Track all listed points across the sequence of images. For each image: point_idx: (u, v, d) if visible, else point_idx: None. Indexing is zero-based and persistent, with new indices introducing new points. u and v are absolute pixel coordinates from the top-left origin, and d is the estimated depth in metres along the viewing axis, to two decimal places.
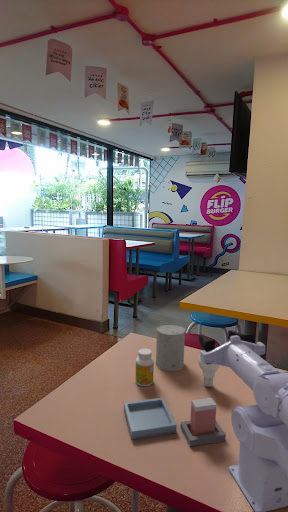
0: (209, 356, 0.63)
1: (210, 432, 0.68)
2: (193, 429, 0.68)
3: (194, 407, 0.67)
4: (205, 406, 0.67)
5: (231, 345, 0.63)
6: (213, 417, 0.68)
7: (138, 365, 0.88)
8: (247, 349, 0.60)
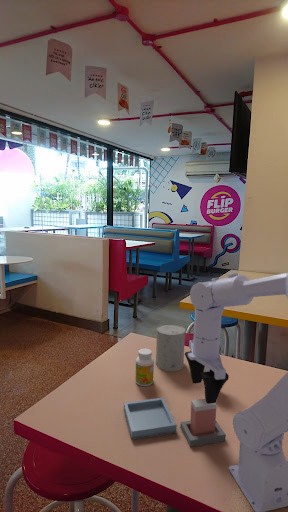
0: (216, 368, 0.61)
1: (210, 432, 0.68)
2: (193, 429, 0.68)
3: (194, 407, 0.67)
4: (204, 406, 0.67)
5: (197, 355, 0.65)
6: (213, 417, 0.68)
7: (138, 365, 0.88)
8: (194, 338, 0.66)
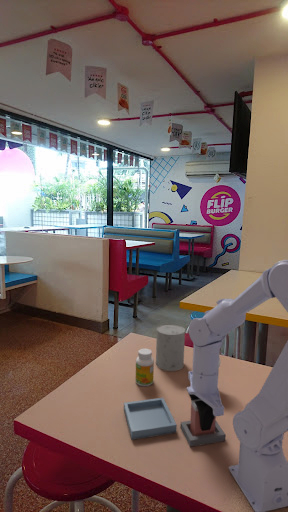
0: (215, 404, 0.62)
1: (210, 432, 0.68)
2: (193, 429, 0.68)
3: (194, 407, 0.67)
4: None
5: (196, 389, 0.66)
6: None
7: (138, 365, 0.88)
8: (192, 373, 0.67)
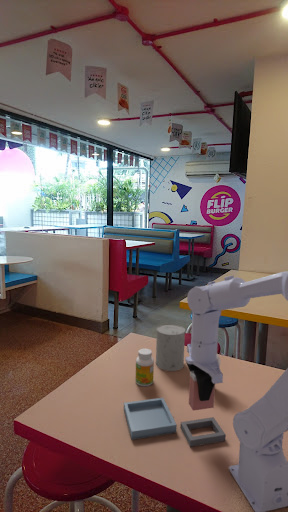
0: (214, 372, 0.61)
1: (209, 403, 0.68)
2: (192, 399, 0.67)
3: (193, 377, 0.66)
4: None
5: (195, 359, 0.65)
6: None
7: (138, 365, 0.88)
8: (191, 342, 0.66)
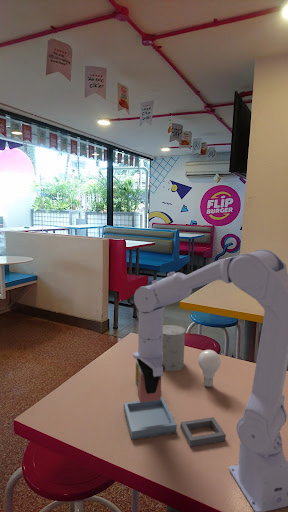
0: (155, 366, 0.65)
1: (156, 395, 0.72)
2: (139, 392, 0.71)
3: (140, 371, 0.70)
4: None
5: (141, 354, 0.69)
6: (159, 381, 0.71)
7: (138, 365, 0.88)
8: (138, 338, 0.70)
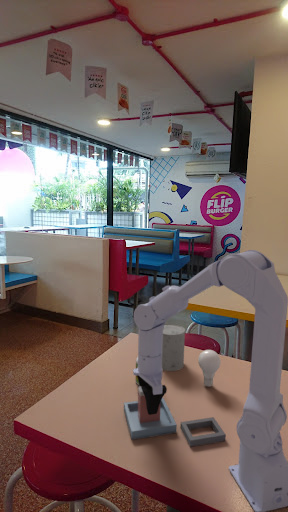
0: (155, 384, 0.66)
1: (155, 416, 0.72)
2: (139, 413, 0.72)
3: (139, 392, 0.71)
4: None
5: (140, 371, 0.70)
6: None
7: None
8: (138, 355, 0.71)
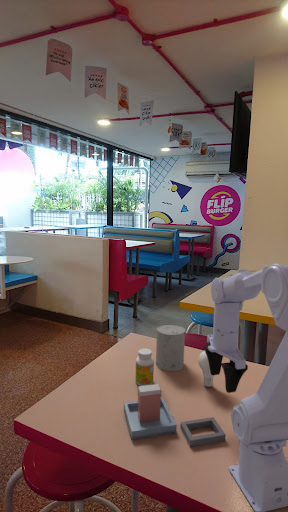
0: (237, 359, 0.65)
1: (155, 416, 0.72)
2: (139, 413, 0.72)
3: (139, 392, 0.71)
4: (149, 391, 0.71)
5: (218, 347, 0.69)
6: (158, 402, 0.72)
7: (138, 365, 0.88)
8: (213, 332, 0.70)
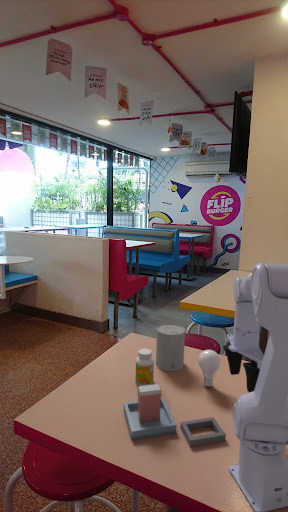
0: (259, 359, 0.65)
1: (155, 416, 0.72)
2: (139, 413, 0.72)
3: (139, 392, 0.71)
4: (149, 391, 0.71)
5: (239, 347, 0.69)
6: (158, 402, 0.72)
7: (138, 365, 0.88)
8: (234, 331, 0.70)
